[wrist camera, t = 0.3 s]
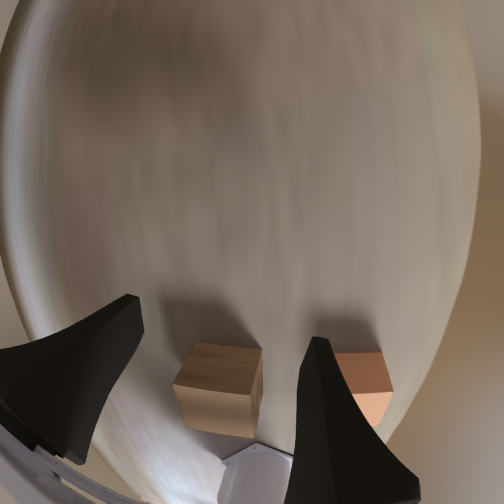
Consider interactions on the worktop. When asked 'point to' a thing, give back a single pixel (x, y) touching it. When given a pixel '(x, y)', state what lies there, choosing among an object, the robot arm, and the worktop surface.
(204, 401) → the tower top
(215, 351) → the tower base
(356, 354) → the terracotta block
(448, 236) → the worktop surface
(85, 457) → the robot arm
